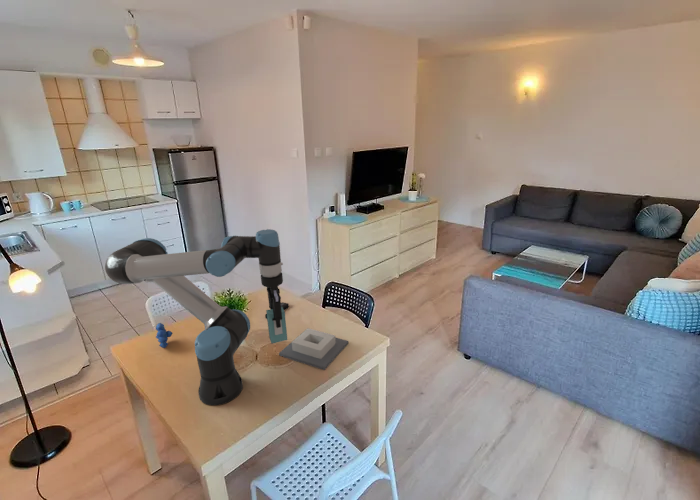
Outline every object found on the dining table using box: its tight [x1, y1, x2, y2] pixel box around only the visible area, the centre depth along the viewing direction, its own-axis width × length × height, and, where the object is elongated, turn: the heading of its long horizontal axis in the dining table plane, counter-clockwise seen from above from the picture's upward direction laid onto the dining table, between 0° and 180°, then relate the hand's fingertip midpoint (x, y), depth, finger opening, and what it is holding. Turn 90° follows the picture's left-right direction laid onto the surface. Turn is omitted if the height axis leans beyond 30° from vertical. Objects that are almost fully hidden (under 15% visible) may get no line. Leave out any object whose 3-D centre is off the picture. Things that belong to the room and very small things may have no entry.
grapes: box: [155, 322, 173, 349], centre depth 160 cm, size 12×7×12 cm, turn 28°
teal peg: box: [265, 307, 288, 344], centre depth 138 cm, size 4×6×12 cm, turn 112°
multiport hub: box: [264, 301, 290, 319], centre depth 188 cm, size 4×14×2 cm, turn 155°
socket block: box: [278, 327, 349, 371], centre depth 156 cm, size 20×22×5 cm
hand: (277, 330), depth 138 cm, fingers closed on teal peg, 4 cm apart
